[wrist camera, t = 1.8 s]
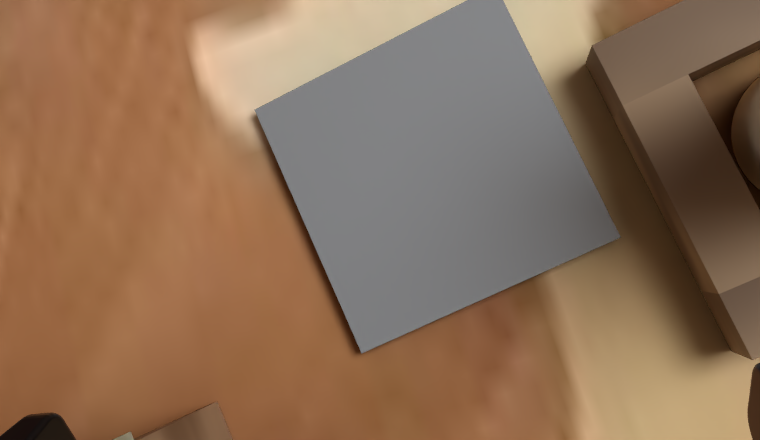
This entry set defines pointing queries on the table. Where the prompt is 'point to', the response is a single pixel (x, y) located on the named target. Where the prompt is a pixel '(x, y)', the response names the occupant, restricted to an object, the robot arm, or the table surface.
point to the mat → (434, 172)
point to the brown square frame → (691, 147)
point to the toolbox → (190, 427)
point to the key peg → (748, 133)
